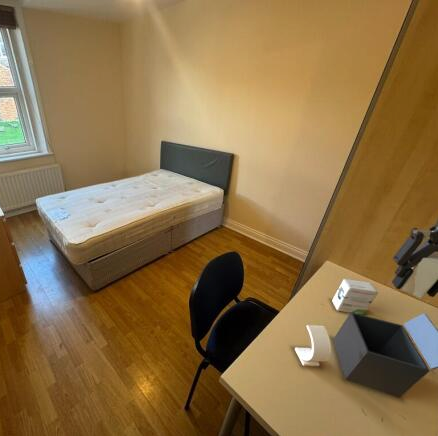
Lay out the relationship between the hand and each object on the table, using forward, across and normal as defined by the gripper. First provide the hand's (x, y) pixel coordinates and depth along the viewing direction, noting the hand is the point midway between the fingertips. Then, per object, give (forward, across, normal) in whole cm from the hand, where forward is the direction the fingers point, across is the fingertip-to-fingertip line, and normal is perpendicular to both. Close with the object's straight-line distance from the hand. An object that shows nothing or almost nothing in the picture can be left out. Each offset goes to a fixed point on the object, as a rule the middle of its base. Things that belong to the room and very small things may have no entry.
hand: (411, 289), depth 61 cm
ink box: (+26, -1, +15) cm, 30 cm away
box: (0, 0, 0) cm, 0 cm away
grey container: (+26, -3, -8) cm, 27 cm away
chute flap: (+9, +4, -8) cm, 12 cm away
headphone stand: (+26, -18, -12) cm, 34 cm away
